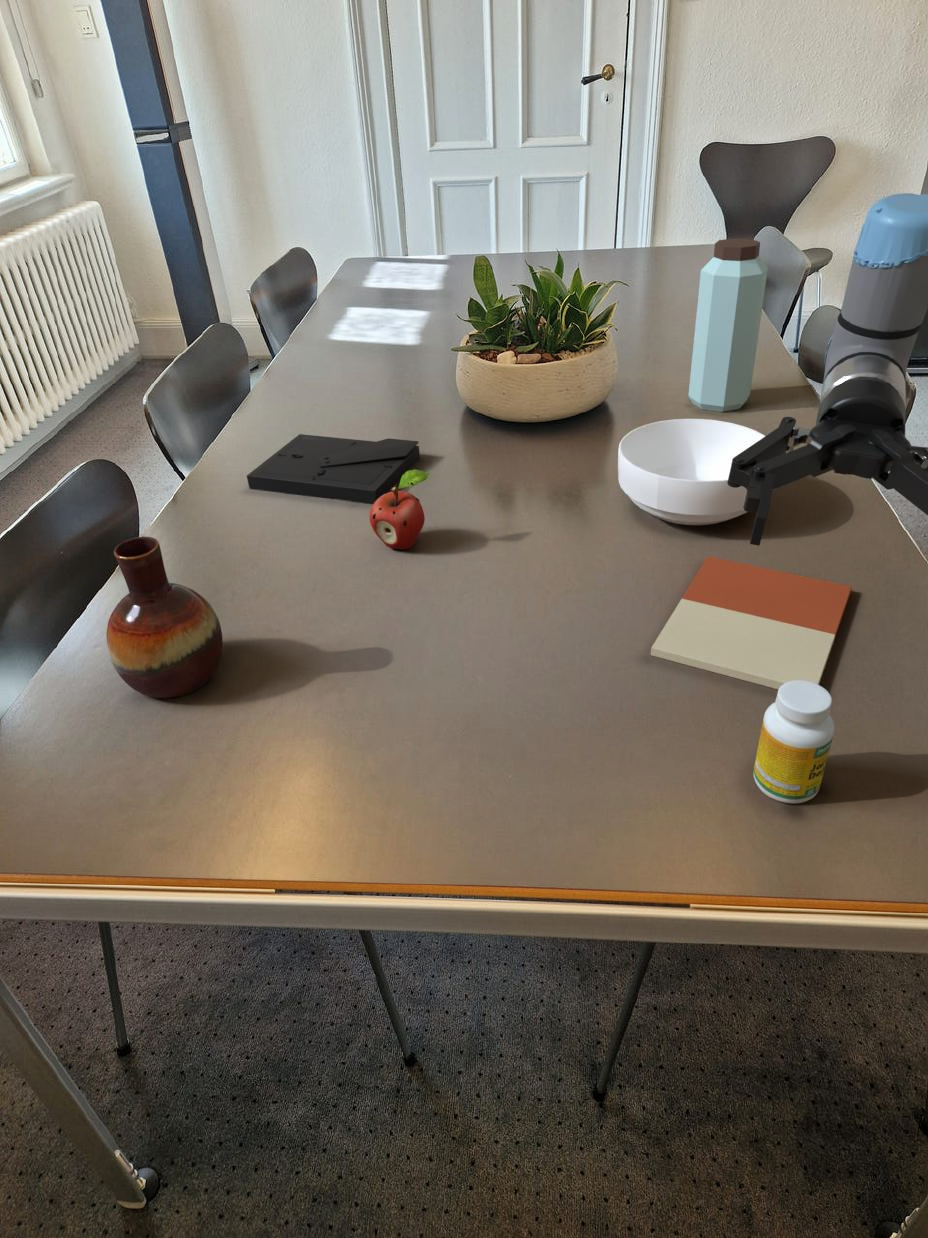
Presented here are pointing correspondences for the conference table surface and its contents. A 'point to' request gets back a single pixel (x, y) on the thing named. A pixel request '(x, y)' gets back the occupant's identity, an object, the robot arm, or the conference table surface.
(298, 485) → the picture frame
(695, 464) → the bowl
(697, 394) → the water bottle
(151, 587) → the vase
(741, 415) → the conference table surface
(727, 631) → the sorting mat
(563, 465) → the conference table surface
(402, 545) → the apple
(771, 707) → the supplement bottle
